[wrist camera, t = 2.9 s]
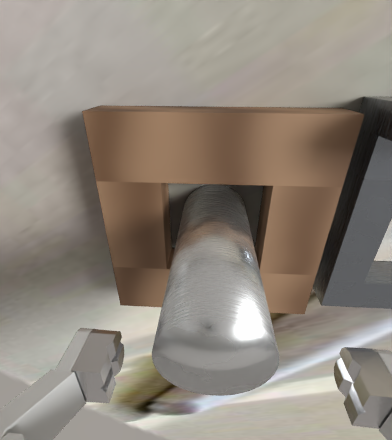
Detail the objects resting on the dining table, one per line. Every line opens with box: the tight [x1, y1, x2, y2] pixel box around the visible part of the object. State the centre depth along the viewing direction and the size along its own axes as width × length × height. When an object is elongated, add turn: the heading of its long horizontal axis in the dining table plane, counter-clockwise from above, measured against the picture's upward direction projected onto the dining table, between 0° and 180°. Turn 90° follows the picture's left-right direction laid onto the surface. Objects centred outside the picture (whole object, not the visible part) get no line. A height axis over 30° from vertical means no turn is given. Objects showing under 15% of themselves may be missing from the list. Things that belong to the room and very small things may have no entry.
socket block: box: [82, 106, 364, 314], centre depth 18 cm, size 14×14×2 cm
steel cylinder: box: [152, 184, 279, 395], centre depth 14 cm, size 4×4×11 cm
